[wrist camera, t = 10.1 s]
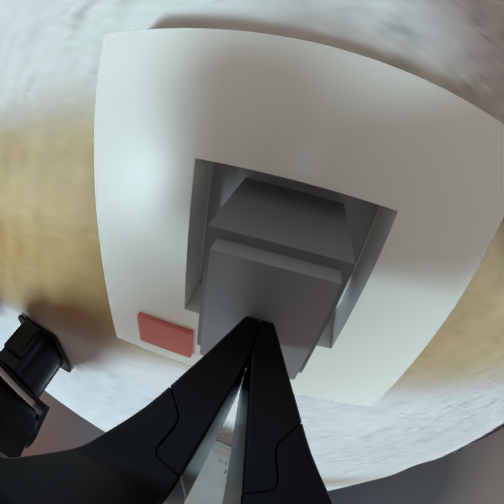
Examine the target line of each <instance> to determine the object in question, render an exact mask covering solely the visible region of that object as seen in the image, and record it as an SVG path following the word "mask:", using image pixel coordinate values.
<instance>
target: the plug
mask: <svg viewBox="0 0 504 504" xmlns="http://www.w3.org/2000/svg"><path fill="white" fill-rule="evenodd" d="M354 266H355V260H354V254H353V249H352V243H351V238H350V232H349V227H348V222H347V217H346V212H345V207H344V203H340V202H337V201H333V200H330V199H327V198H323V197H319V196H316V195H312V194H309V193H305V192H301V191H297V190H294V189H290V188H286V187H282V186H278V185H274V184H270V183H266V182H262V181H257V180H253V179H249V178H245V179H244V180H243V181H242V182H241V184H240V185H239V186H238V187H237V189H236V190H235V191H234V192H233V194H232V195H231V196H230V197H229V199H228V200H227V201H226V203H225V204H224V205H223V206H222V208H221V209H220V210H219V211H218V213H217V214H216V215H215V217H214V218H213V219H212V220H211V222H210V223H209V224H208V228H207V237H206V246H205V256H204V265H203V276H202V287H201V298H200V310H199V323H198V337H197V345H200V354H201V355H205V354H206V353H207V352H208V351H209V350H210V349H211V348H213V347H214V346H215V345H216V344H217V343H218V342H219V341H220V340H221V339H222V338H223V337H224V336H225V335H226V334H227V333H228V332H229V331H231V330H232V329H233V328H234V327H235V326H236V325H237V324H238V323H239V322H240V321H241V320H242V319H243V318H244V317H246V316H249V317H253V318H257V319H259V322H260V321H261V320H264V321H268V322H272V323H274V325H275V328H276V332H277V335H278V339H279V342H280V346H281V350H282V353H283V357H284V360H285V364H286V367H287V371H288V375H289V378H290V379H293V380H294V379H295V377H296V376H297V374H298V372H300V373H302V371H303V369H304V367H305V366H306V364H307V362H308V360H309V358H310V356H311V355H312V353H313V351H314V349H315V347H316V345H317V343H318V341H319V339H320V338H321V336H322V334H323V332H324V330H325V328H326V326H327V324H328V322H329V320H330V318H331V316H332V314H333V312H334V309H335V307H336V305H337V303H338V301H339V299H340V297H341V295H342V293H343V290H344V288H345V286H346V284H347V282H348V279H349V277H350V275H351V273H352V270H353V268H354Z"/></svg>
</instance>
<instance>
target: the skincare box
mask: <svg viewBox="0 0 504 504" xmlns="http://www.w3.org/2000/svg"><path fill="white" fill-rule="evenodd" d="M230 453H231V446H228V445H226V444H224V443H221V442H219V441H217V440H216V441H215V443H214V445H213V447H212V449H211V451H210V453H209V455H208V457H207V459H206V461H205V463H204V465H203V467H202V469H201V471H200V473H199V475H198V477H197V479H196V481H195V483H194V485H193V487H192V489H191V491H190V493H189V495H188V497H187V498H186V499H185V502H184V504H222V502H223V498H224V491H225V485H226V479H227V472H228V466H229V460H230Z"/></svg>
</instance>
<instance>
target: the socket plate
mask: <svg viewBox="0 0 504 504" xmlns="http://www.w3.org/2000/svg"><path fill="white" fill-rule="evenodd" d="M94 176H95V197H96V211H97V222H98V232H99V241H100V249H101V257H102V264H103V270H104V277H105V283H106V288H107V294H108V299H109V304H110V309H111V314H112V319H113V323H114V328H115V332H116V336H117V337H118V338H120V339H122V340H125V341H127V342H129V343H132V344H134V345H137V346H139V347H142V348H144V349H147V350H149V351H152V352H154V353H157V354H160V355H162V356H165V357H168V358H170V359H173V360H176V361H179V362H182V363H185V364H188V365H190V366H193V365H194V364H195V363H196V362H197V361H199V360H200V359H201V358H202V357H203V356H204V355H201V354H200V345H197V337H198V323H199V310H200V298H201V287H202V276H203V265H204V256H205V246H206V237H207V228H208V224H209V223H210V222H211V220H212V219H213V218H214V217H215V215H216V214H217V213H218V211H219V210H220V209H221V208H222V206H223V205H224V204H225V203H226V201H227V200H228V199H229V197H230V196H231V195H232V194H233V192H234V191H235V190H236V189H237V187H238V186H239V185H240V184H241V182H242V181H243V180H244V179H245V178H249V179H253V180H257V181H262V182H266V183H270V184H274V185H278V186H282V187H286V188H290V189H294V190H297V191H301V192H305V193H309V194H312V195H316V196H319V197H323V198H327V199H330V200H333V201H337V202H340V203H344V207H345V212H346V217H347V222H348V227H349V232H350V238H351V243H352V249H353V254H354V260H355V266H354V268H353V270H352V273H351V275H350V277H349V279H348V282H347V284H346V286H345V288H344V290H343V293H342V295H341V297H340V299H339V301H338V303H337V305H336V307H335V309H334V312H333V314H332V316H331V318H330V320H329V322H328V324H327V326H326V328H325V330H324V332H323V334H322V336H321V338H320V339H319V341H318V343H317V345H316V347H315V349H314V351H313V353H312V355H311V356H310V358H309V360H308V362H307V364H306V366H305V367H304V369H303V371H302V373H300V372H298V374H297V376H296V377H295V379H294V380H293V379H290V382H291V385H292V389H293V393H294V394H297V395H302V396H307V397H312V398H317V399H323V400H329V401H335V402H341V403H347V404H354V405H362V406H369V407H372V406H373V405H374V404H375V403H376V402H377V401H378V400H379V399H380V398H381V397H382V396H383V395H384V394H385V393H386V392H387V391H388V390H389V389H390V388H391V386H392V385H393V384H394V383H395V382H396V381H397V380H398V379H399V378H400V377H401V375H402V374H403V373H404V372H405V371H406V370H407V369H408V367H409V366H410V365H411V364H412V363H413V361H414V360H415V359H416V358H417V357H418V355H419V354H420V353H421V352H422V350H423V349H424V348H425V347H426V345H427V344H428V343H429V341H430V340H431V339H432V338H433V336H434V335H435V334H436V332H437V331H438V330H439V328H440V327H441V325H442V324H443V323H444V321H445V320H446V318H447V317H448V315H449V314H450V313H451V311H452V310H453V308H454V307H455V305H456V304H457V302H458V301H459V299H460V297H461V296H462V294H463V293H464V291H465V290H466V288H467V286H468V285H469V283H470V281H471V280H472V278H473V276H474V275H475V273H476V271H477V269H478V268H479V266H480V264H481V262H482V260H483V258H484V257H485V255H486V253H487V251H488V249H489V247H490V245H491V243H492V241H493V239H494V237H495V235H496V233H497V231H498V229H499V226H500V224H501V222H502V220H503V218H504V124H503V123H502V122H500V121H499V120H497V119H496V118H494V117H493V116H491V115H489V114H488V113H486V112H485V111H483V110H481V109H480V108H478V107H476V106H475V105H473V104H471V103H470V102H468V101H466V100H464V99H462V98H461V97H459V96H457V95H455V94H453V93H451V92H449V91H447V90H445V89H444V88H442V87H439V86H437V85H435V84H433V83H431V82H429V81H427V80H425V79H422V78H420V77H418V76H416V75H413V74H411V73H409V72H406V71H404V70H401V69H399V68H396V67H394V66H391V65H388V64H386V63H383V62H380V61H377V60H374V59H371V58H368V57H365V56H362V55H359V54H356V53H353V52H349V51H346V50H342V49H339V48H335V47H331V46H327V45H323V44H319V43H314V42H310V41H305V40H300V39H295V38H290V37H284V36H278V35H272V34H265V33H257V32H249V31H239V30H227V29H209V28H164V29H146V30H134V31H124V32H116V33H109V34H104V35H103V41H102V47H101V54H100V62H99V70H98V79H97V90H96V103H95V123H94ZM245 371H246V370H245ZM242 381H243V380H242Z"/></svg>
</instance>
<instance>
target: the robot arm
mask: <svg viewBox="0 0 504 504" xmlns="http://www.w3.org/2000/svg"><path fill="white" fill-rule="evenodd" d="M18 319H19V321H20V323H21V326H20V327H19V328H18V329H17V330H16V331H15V332H14V334H13V335H12V336H11V337H10V338H9V339H8V340H7V342H6V343H5V344H4V346H5V347H4V348H3V350H2V351H1V352H0V373H1V374H2V375H3V376H4V377H5V379H6V380H7V381H8V382H9V383H10V384H11V385H12V386H13V387H14V388H15V389H16V390H17V391H18V392H19V393H20V394H21V395H23V397H24V398H25V399H26V400H28V401H29V402H30V403H31V404H32V405H33V406H32V407H31V406H30V405H29V404H28V403H27V402H26V401H25V400H24V399H23V398H22V397H20V396H19V395H18V394H17V393H16V392H15V391H14V390H13V389H12V388H11V387H10V386H9V385H8V383H7V382H5V380H4V379H3V378H2V377H1V376H0V504H184V502H185V499H186V498H187V497H188V495H189V493H190V491H191V489H192V487H193V485H194V483H195V481H196V479H197V477H198V475H199V473H200V471H201V469H202V467H203V465H204V463H205V461H206V459H207V457H208V455H209V453H210V451H211V449H212V447H213V445H214V443H215V441H216V439H217V437H218V434H219V432H220V430H221V428H222V426H223V424H224V422H225V420H226V418H227V415H228V413H229V411H230V409H231V407H232V405H233V402H234V400H235V398H236V396H237V394H238V391H239V389H240V386H241V389H240V395H239V401H238V408H237V415H236V421H235V428H234V434H233V441H232V447H231V453H230V460H229V466H228V472H227V479H226V485H225V491H224V498H223V504H333V503H332V501H331V498H330V496H329V494H328V492H327V489H326V487H325V485H324V483H323V481H322V478H321V476H320V474H319V471H318V469H317V467H316V464H315V462H314V459H313V457H312V454H311V451H310V448H309V445H308V442H307V439H306V435H305V432H304V428H303V425H302V424H300V423H301V418H300V414H299V411H298V407H297V403H296V400H295V396H294V393H293V389H292V385H291V382H290V378H289V375H288V371H287V367H286V364H285V360H284V357H283V353H282V350H281V346H280V342H279V339H278V335H277V332H276V328H275V325H274V323H272V322H268V321H264V320H261V321H260V322H259V319H257V318H253V317H249V316H246V317H244V318H243V319H242V320H241V321H240V322H239V323H238V324H237V325H236V326H235V327H234V328H233V329H232V330H231V331H229V332H228V333H227V334H226V335H225V336H224V337H223V338H222V339H221V340H220V341H219V342H218V343H217V344H216V345H215V346H214V347H213V348H211V349H210V350H209V351H208V352H207V353H206V354H205V355H204V356H203V357H202V358H201V359H200V360H199V361H197V362H196V363H195V364H194V365H193V366H192V367H191V368H190V369H189V370H188V371H187V372H185V373H184V374H183V375H182V376H181V377H180V378H179V379H178V380H177V381H175V382H174V383H173V384H172V385H171V388H167V389H166V390H165V391H164V392H163V393H162V394H161V395H160V396H158V397H157V398H156V399H155V400H153V401H152V402H151V403H150V404H149V405H147V406H146V407H145V408H143V409H142V410H140V411H139V412H138V413H136V414H135V415H133V416H132V417H130V418H129V419H127V420H126V421H124V422H122V423H121V424H119V425H118V426H116V427H114V428H113V429H111V430H109V431H108V432H106V433H105V434H103V435H101V436H100V437H98V438H96V439H95V440H93V441H91V442H89V443H87V444H85V445H82V446H80V447H77V448H74V449H70V450H64V451H59V452H53V453H47V454H40V455H33V456H24V457H20V456H21V453H22V451H23V449H24V448H25V449H26V448H28V447H29V446H30V445H31V444H32V443H33V441H34V440H35V438H36V436H37V434H38V432H39V430H40V427H41V425H42V423H43V421H44V419H45V416H46V414H47V412H48V410H49V408H50V407H49V406H48V405H47V404H44V403H43V402H42V401H41V400H40V399H39V397H40V395H41V394H42V393H43V391H44V390H45V388H46V387H47V385H48V384H49V382H50V381H51V380H52V378H53V377H54V375H55V374H56V373H57V371H58V370H59V368H60V367H61V368H62V369H64V370H66V371H67V372H69V373H70V372H71V370H72V369H71V367H70V365H69V363H68V361H67V359H66V357H65V355H64V353H63V351H62V349H61V346H60V344H59V342H58V340H57V338H56V337H55V336H54V335H53V334H51V333H49V332H48V331H46V330H44V329H43V328H41V327H39V326H38V325H36V324H35V323H33V322H31V321H30V320H28V319H27V318H25V317H24V316H22V315H19V316H18ZM245 370H246V371H245ZM242 380H243V381H242ZM241 383H242V385H241Z"/></svg>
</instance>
